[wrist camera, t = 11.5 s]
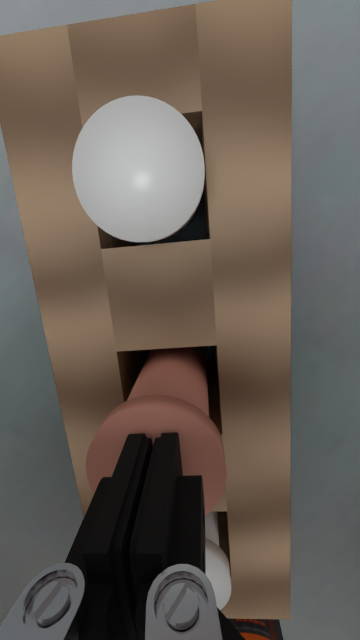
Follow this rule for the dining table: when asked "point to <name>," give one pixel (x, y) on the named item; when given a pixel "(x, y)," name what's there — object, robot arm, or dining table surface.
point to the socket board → (172, 247)
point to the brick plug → (166, 420)
